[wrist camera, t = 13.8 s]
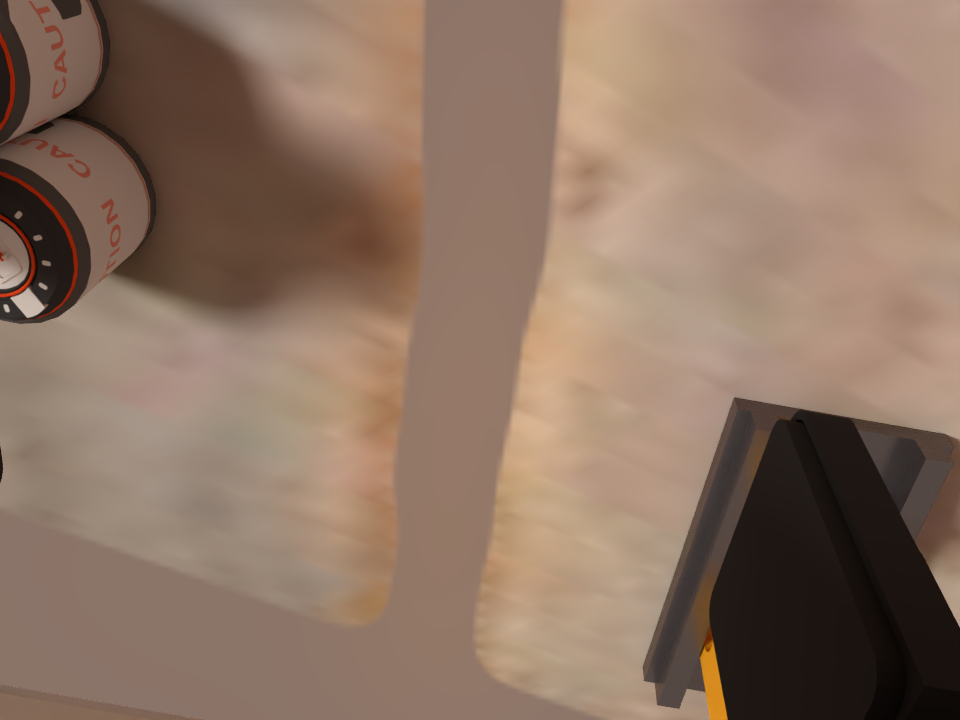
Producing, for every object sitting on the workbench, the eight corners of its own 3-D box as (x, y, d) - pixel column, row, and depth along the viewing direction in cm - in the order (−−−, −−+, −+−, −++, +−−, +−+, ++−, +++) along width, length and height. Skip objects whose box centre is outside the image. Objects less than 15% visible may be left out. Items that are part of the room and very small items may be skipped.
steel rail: (945, 434, 42) (966, 465, 40) (818, 697, 51) (829, 735, 49) (733, 397, 42) (742, 426, 40) (642, 666, 51) (646, 702, 49)
